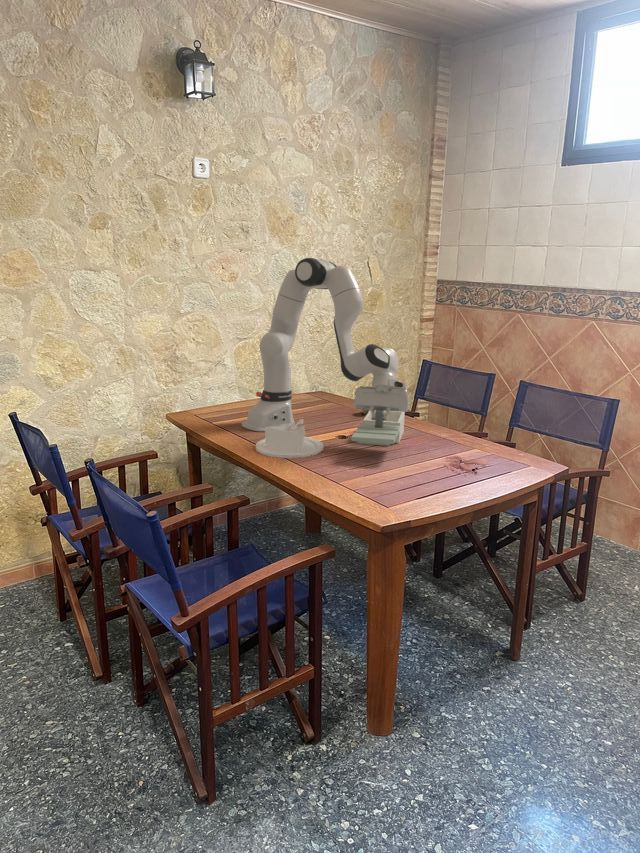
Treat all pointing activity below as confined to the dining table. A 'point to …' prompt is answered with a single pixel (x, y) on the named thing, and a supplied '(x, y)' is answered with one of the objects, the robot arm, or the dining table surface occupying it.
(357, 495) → the dining table surface
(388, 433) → the lid
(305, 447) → the dish
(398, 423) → the tub
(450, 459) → the cloth
